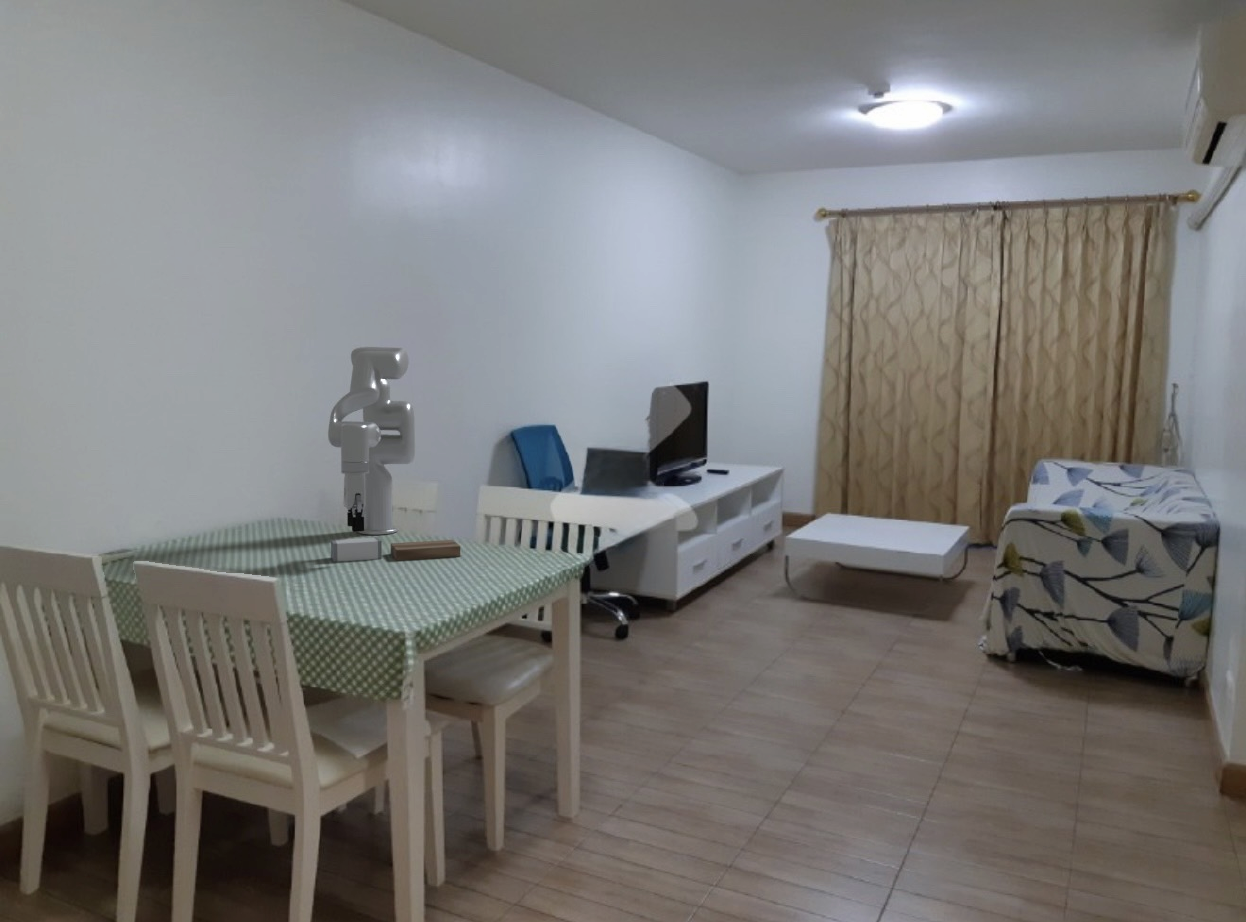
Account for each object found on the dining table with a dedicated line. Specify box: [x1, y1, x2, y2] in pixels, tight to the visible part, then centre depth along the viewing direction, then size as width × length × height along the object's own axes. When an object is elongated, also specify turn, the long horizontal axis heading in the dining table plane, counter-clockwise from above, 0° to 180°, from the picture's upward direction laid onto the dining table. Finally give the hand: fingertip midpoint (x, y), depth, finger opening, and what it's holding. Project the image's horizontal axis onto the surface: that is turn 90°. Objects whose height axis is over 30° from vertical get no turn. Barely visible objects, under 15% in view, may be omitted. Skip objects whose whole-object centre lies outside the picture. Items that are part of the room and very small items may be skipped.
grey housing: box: [330, 536, 383, 563], centre depth 270 cm, size 6×13×5 cm, turn 113°
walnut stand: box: [390, 539, 461, 561], centre depth 276 cm, size 10×18×3 cm, turn 113°
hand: (355, 528), depth 269 cm, fingers open, 9 cm apart
